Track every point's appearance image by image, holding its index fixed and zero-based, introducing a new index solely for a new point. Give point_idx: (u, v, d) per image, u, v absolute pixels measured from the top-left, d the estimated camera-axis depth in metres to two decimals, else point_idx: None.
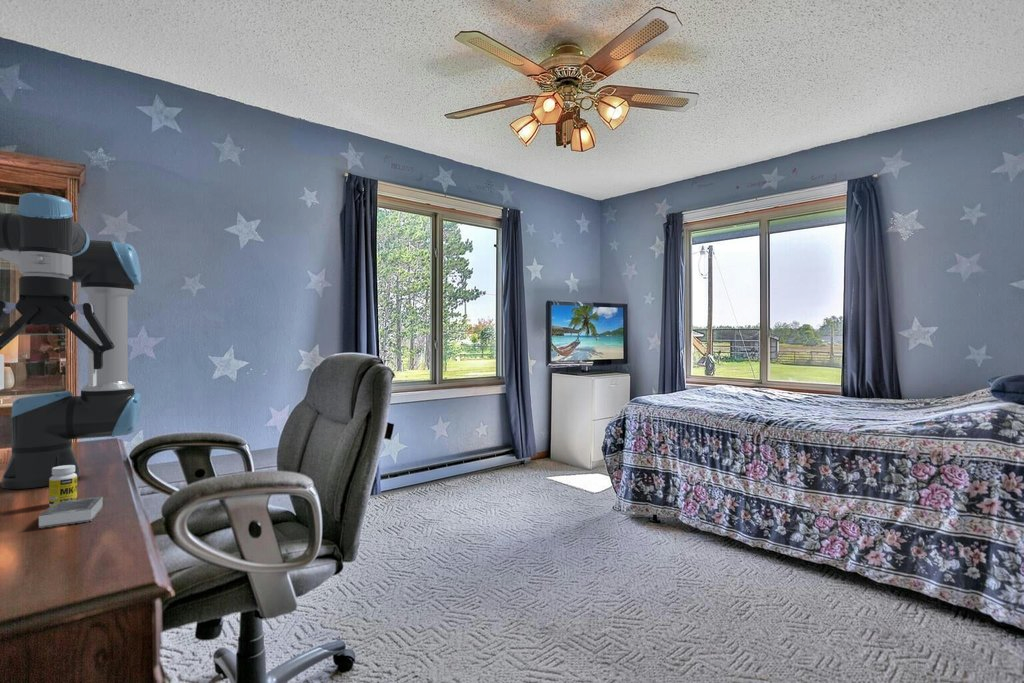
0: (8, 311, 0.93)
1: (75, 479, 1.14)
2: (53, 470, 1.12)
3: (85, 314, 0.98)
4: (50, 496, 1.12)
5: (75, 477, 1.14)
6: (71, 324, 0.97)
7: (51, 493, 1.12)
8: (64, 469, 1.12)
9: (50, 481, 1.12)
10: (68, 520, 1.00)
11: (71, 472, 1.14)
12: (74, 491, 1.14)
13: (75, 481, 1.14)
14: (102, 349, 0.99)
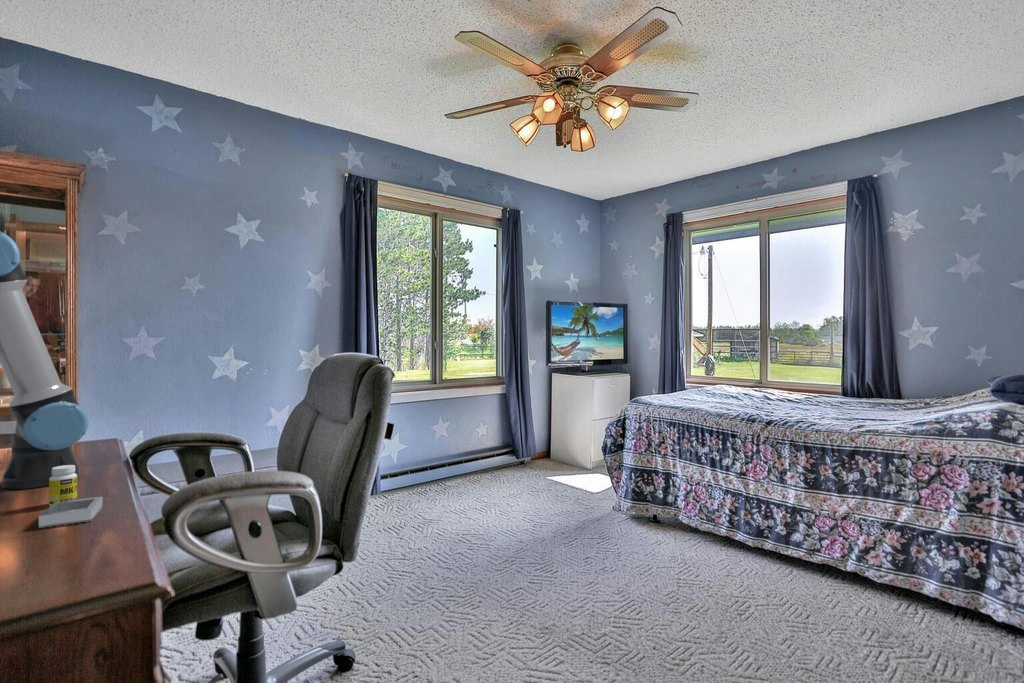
0: None
1: (75, 479, 1.14)
2: (53, 470, 1.12)
3: None
4: (50, 496, 1.12)
5: (75, 477, 1.14)
6: None
7: (51, 493, 1.12)
8: (64, 469, 1.12)
9: (50, 481, 1.12)
10: (68, 520, 1.00)
11: (71, 472, 1.14)
12: (74, 491, 1.14)
13: (75, 481, 1.14)
14: None
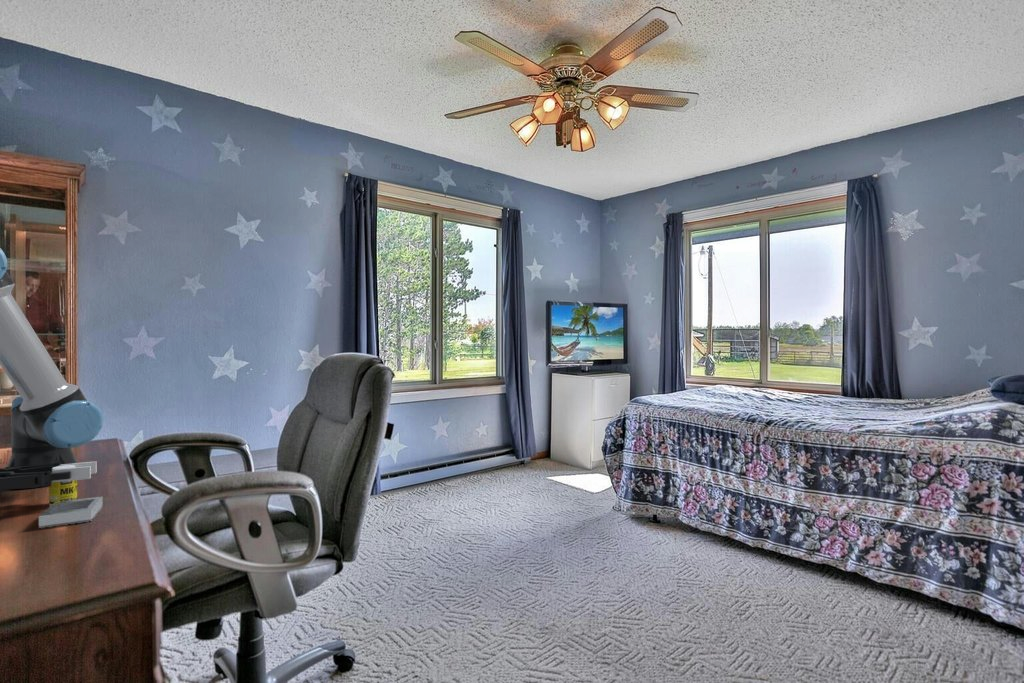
0: None
1: None
2: None
3: None
4: (50, 496, 1.12)
5: None
6: None
7: (51, 493, 1.12)
8: None
9: None
10: (68, 520, 1.00)
11: None
12: (74, 491, 1.14)
13: (75, 481, 1.14)
14: (45, 481, 1.09)
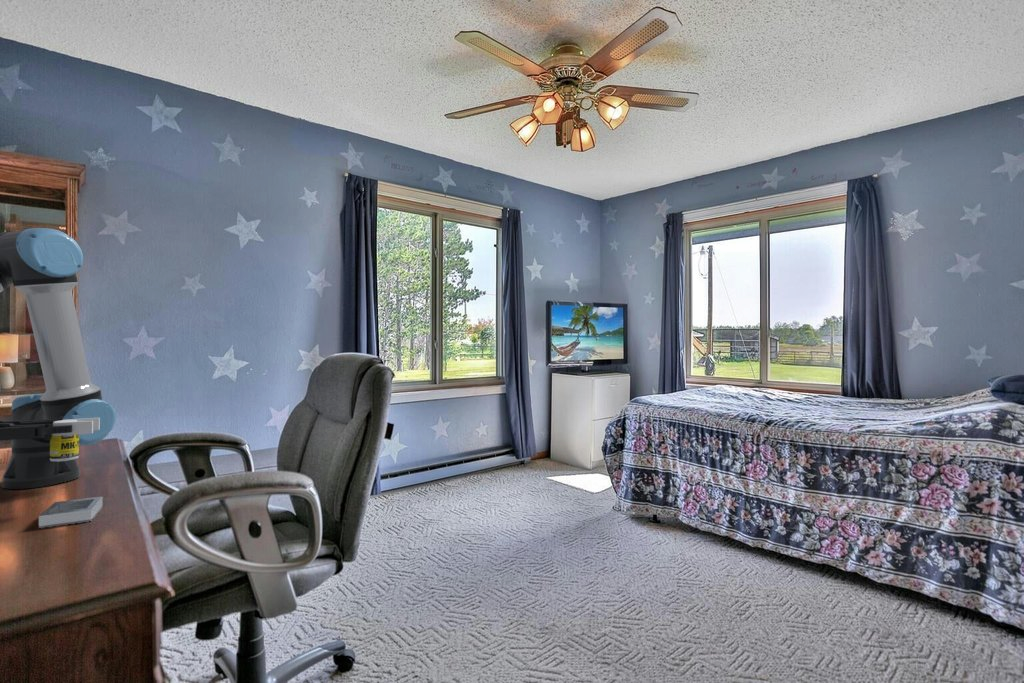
0: None
1: None
2: None
3: None
4: (51, 450, 1.07)
5: None
6: None
7: (52, 447, 1.07)
8: None
9: None
10: (68, 520, 1.00)
11: None
12: (76, 446, 1.10)
13: (77, 436, 1.10)
14: (45, 434, 1.05)
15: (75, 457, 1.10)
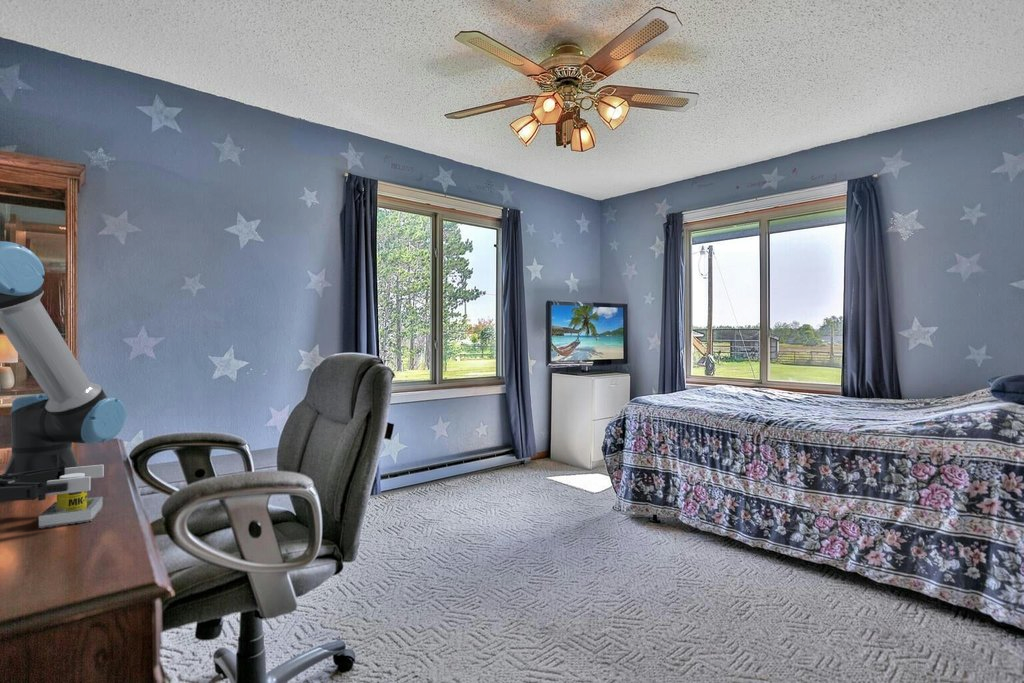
0: None
1: None
2: None
3: None
4: (58, 507, 1.02)
5: None
6: None
7: (59, 504, 1.02)
8: None
9: None
10: (68, 520, 1.00)
11: None
12: (84, 502, 1.05)
13: (85, 491, 1.05)
14: (39, 494, 0.96)
15: None
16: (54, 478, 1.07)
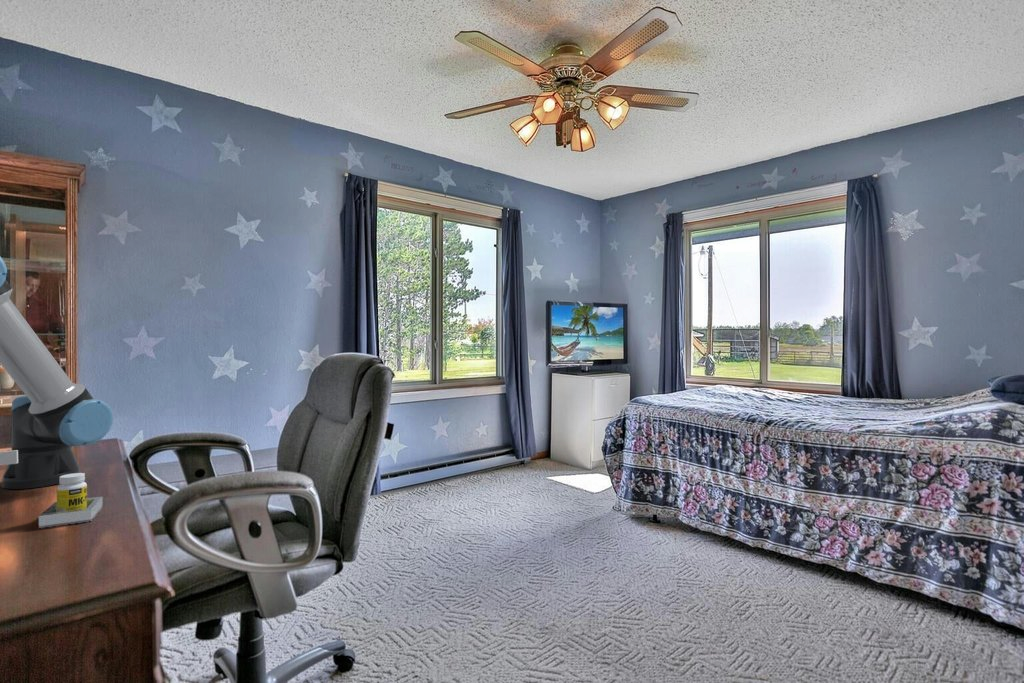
0: None
1: (85, 488, 1.05)
2: (61, 479, 1.03)
3: None
4: (58, 507, 1.02)
5: (85, 486, 1.05)
6: None
7: (59, 504, 1.02)
8: (73, 478, 1.03)
9: (58, 491, 1.02)
10: (68, 520, 1.00)
11: (80, 481, 1.04)
12: (84, 502, 1.05)
13: (85, 491, 1.05)
14: None
15: None
16: None
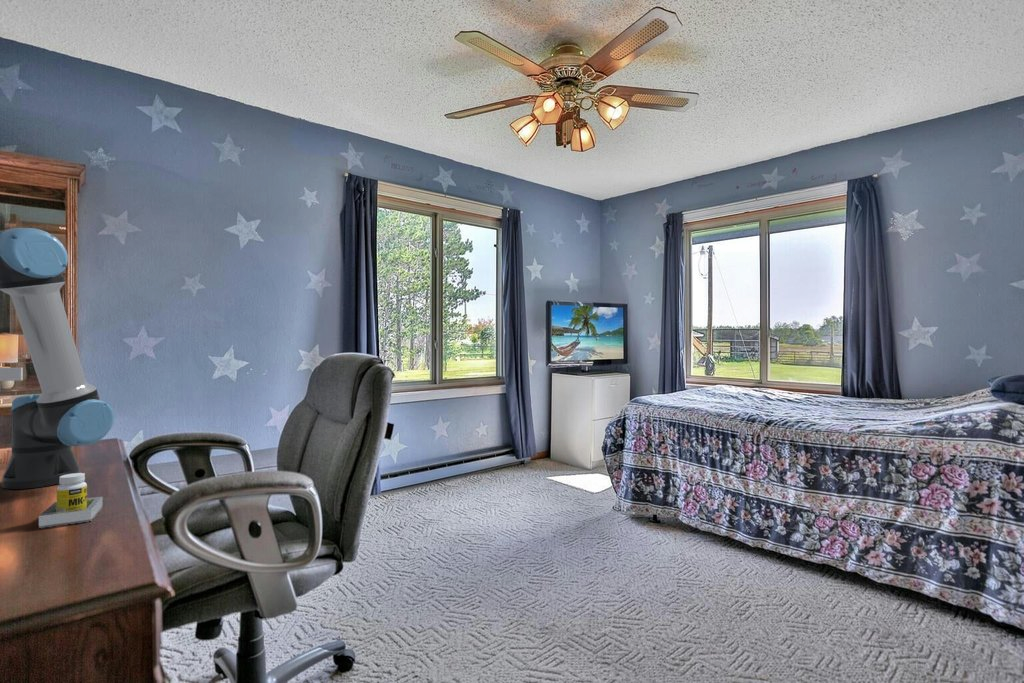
0: None
1: (85, 488, 1.05)
2: (61, 479, 1.03)
3: None
4: (58, 507, 1.02)
5: (85, 486, 1.05)
6: None
7: (59, 504, 1.02)
8: (73, 478, 1.03)
9: (58, 491, 1.02)
10: (68, 520, 1.00)
11: (80, 481, 1.04)
12: (84, 502, 1.05)
13: (85, 491, 1.05)
14: None
15: None
16: None
